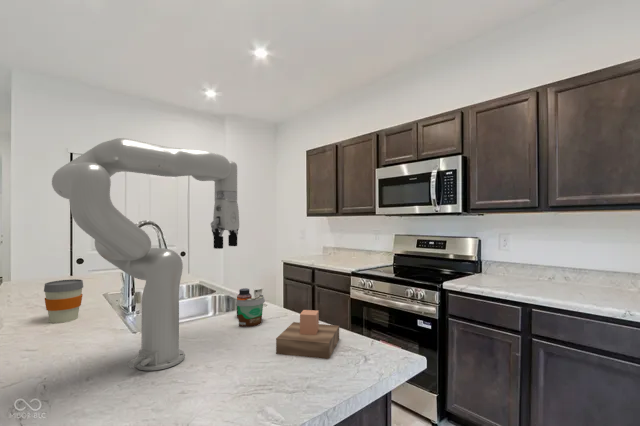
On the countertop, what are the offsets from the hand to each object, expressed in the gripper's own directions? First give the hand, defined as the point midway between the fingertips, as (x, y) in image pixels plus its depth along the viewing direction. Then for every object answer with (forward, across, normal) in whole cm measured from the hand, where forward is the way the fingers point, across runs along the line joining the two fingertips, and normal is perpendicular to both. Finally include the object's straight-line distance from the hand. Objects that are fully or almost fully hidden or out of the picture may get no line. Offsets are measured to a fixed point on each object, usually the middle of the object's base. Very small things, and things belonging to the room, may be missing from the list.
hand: (225, 247), depth 113 cm
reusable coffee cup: (+31, +3, +73) cm, 79 cm away
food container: (+31, +14, -4) cm, 34 cm away
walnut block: (+31, -2, -30) cm, 43 cm away
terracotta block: (+26, -2, -30) cm, 40 cm away
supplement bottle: (+31, +22, +4) cm, 38 cm away
